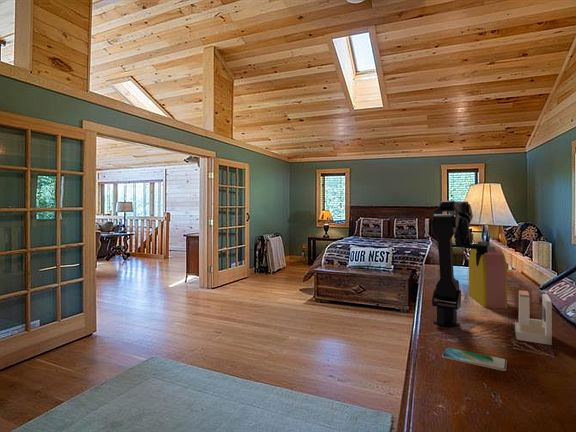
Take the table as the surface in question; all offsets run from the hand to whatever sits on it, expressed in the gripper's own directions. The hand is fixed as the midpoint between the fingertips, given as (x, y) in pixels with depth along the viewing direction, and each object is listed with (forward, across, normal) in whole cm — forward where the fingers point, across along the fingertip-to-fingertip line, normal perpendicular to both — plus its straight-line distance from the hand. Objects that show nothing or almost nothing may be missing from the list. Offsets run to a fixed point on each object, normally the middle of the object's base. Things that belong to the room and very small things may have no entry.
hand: (465, 265), depth 146 cm
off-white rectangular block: (+6, -23, +30) cm, 38 cm away
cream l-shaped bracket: (+9, -25, +30) cm, 40 cm away
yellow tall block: (+22, -5, -8) cm, 23 cm away
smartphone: (0, -15, +59) cm, 61 cm away
